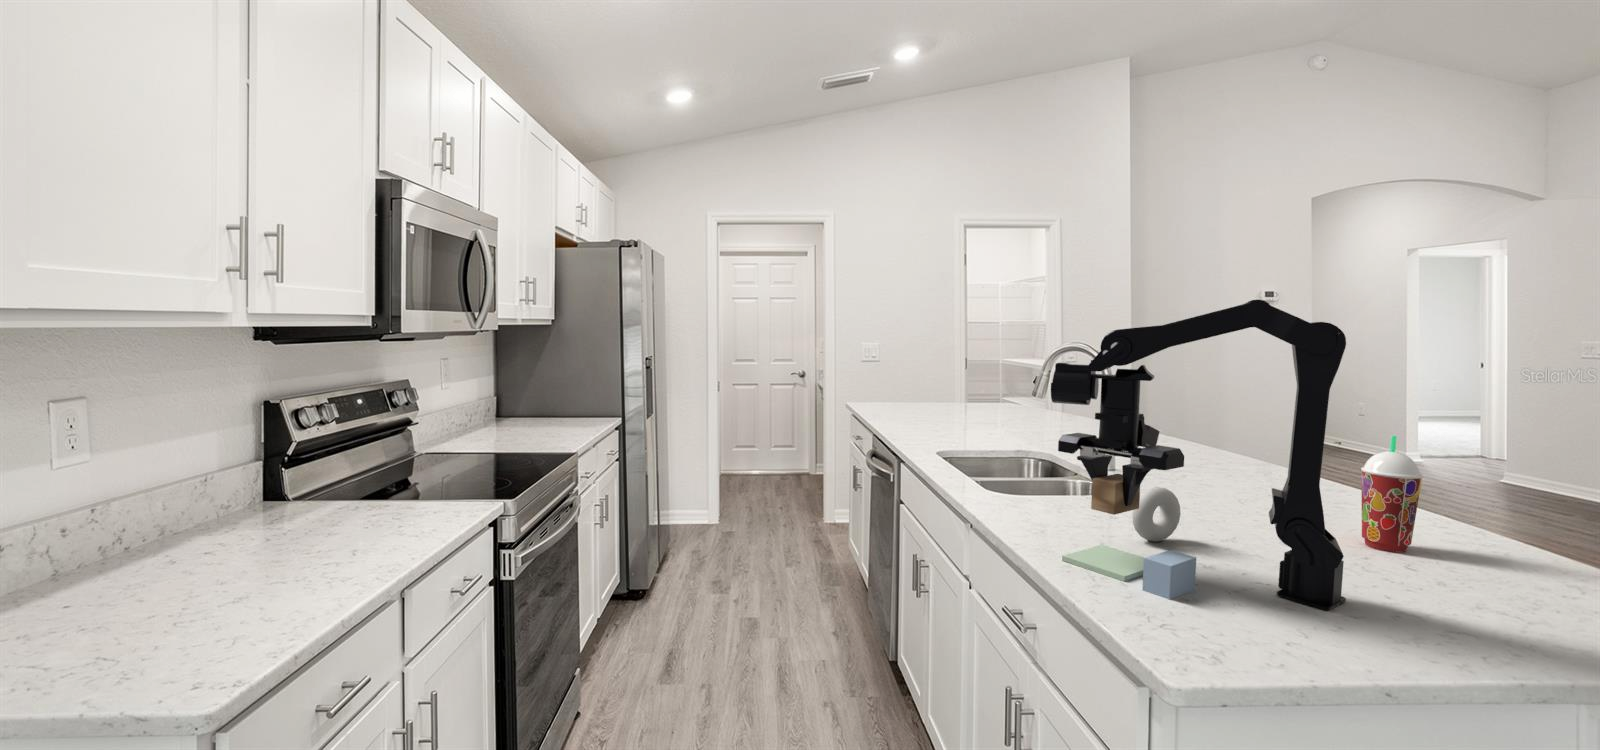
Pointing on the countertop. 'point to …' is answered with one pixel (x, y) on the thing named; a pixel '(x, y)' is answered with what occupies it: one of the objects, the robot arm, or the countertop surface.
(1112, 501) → the walnut brick
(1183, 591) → the slate brick
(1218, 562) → the countertop surface
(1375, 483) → the smoothie
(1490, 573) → the countertop surface
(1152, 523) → the donut
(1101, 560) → the baseplate
